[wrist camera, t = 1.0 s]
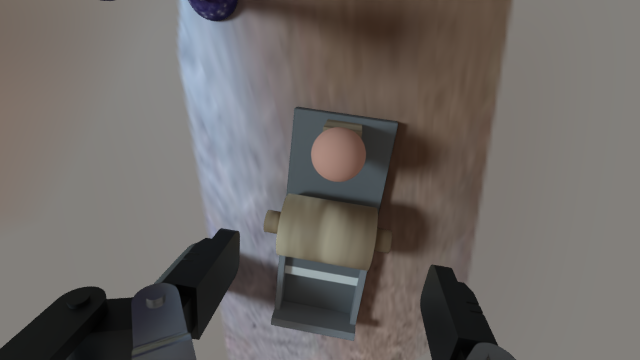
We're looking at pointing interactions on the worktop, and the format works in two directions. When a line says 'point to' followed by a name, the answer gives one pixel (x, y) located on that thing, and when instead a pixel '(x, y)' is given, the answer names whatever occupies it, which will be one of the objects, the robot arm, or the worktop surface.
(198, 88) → the worktop surface
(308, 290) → the grey long tray
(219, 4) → the toy lamp
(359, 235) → the maple rolling pin
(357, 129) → the light wooden block
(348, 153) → the ball
